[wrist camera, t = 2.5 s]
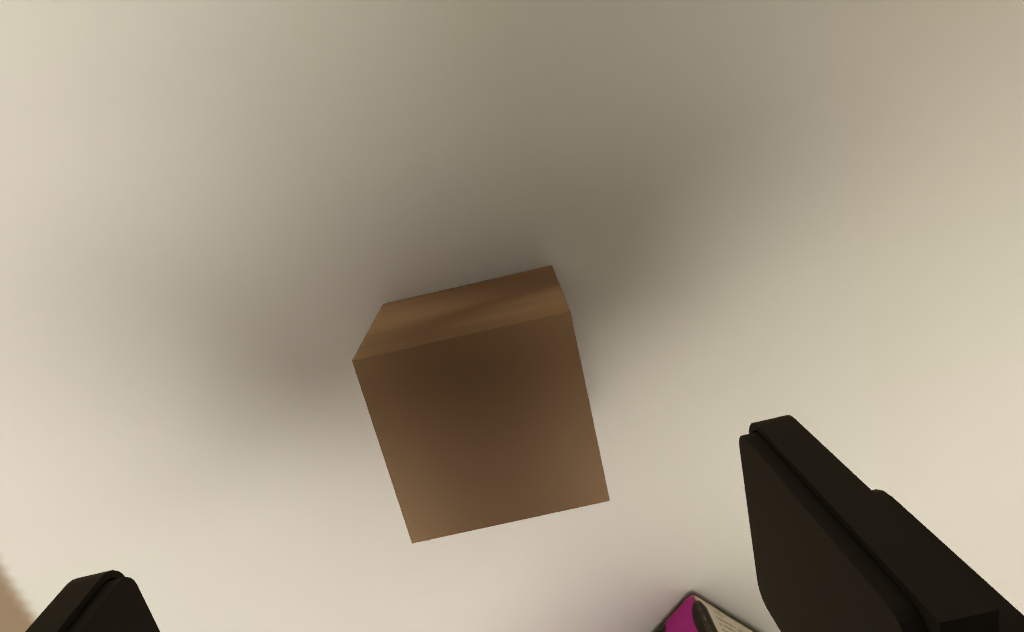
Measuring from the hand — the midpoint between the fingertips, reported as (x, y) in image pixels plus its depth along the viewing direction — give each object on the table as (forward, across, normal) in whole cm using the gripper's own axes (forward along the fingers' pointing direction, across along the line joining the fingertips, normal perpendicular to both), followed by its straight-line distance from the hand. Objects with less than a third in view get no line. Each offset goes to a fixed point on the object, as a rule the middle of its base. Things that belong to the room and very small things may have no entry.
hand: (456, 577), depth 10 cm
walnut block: (+8, -1, 0) cm, 8 cm away
